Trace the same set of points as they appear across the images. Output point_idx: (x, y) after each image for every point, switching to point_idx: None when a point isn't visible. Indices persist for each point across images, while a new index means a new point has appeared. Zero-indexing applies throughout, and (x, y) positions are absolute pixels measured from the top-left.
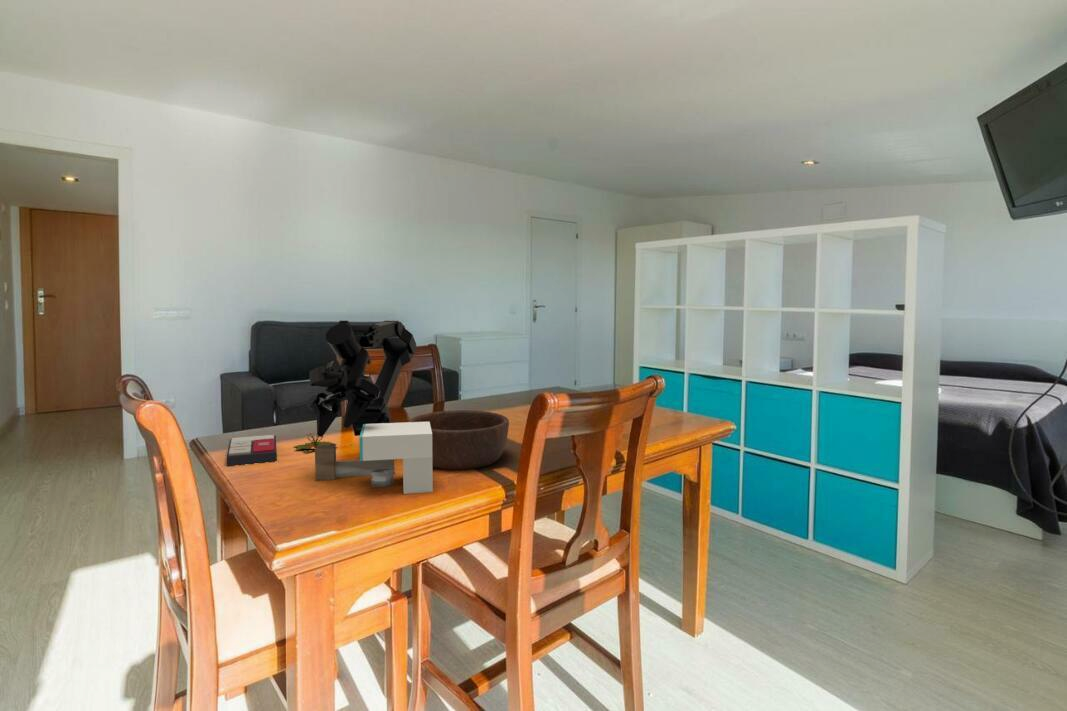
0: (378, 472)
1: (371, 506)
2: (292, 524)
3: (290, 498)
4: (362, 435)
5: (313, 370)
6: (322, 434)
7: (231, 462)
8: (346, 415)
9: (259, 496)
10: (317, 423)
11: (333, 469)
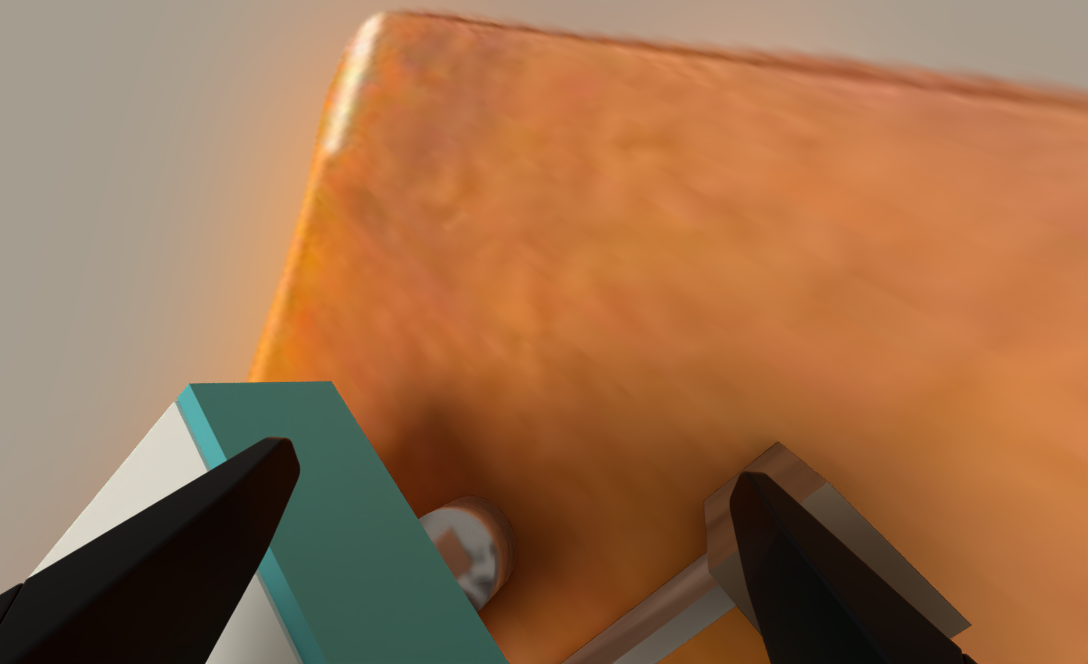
0: (453, 552)
1: (361, 331)
2: (449, 95)
3: (655, 215)
4: (199, 441)
5: None
6: (737, 522)
7: None
8: (144, 517)
9: (806, 142)
10: (891, 604)
11: (708, 515)
